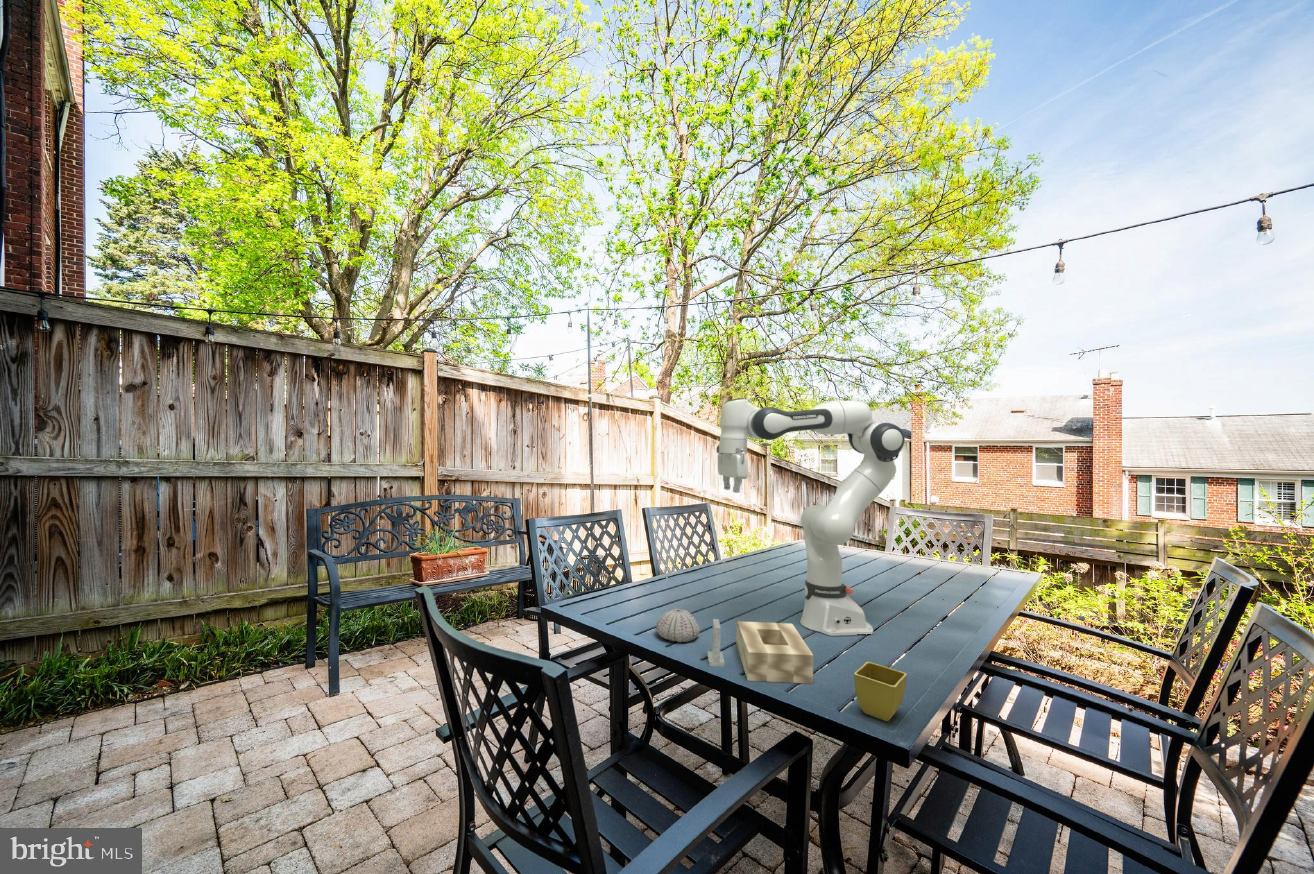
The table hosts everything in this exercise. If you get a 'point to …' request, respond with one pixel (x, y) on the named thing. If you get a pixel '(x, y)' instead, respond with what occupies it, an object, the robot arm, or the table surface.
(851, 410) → the robot arm
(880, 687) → the flower pot
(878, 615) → the table surface
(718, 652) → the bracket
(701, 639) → the table surface
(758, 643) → the well block
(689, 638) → the sea urchin shell
